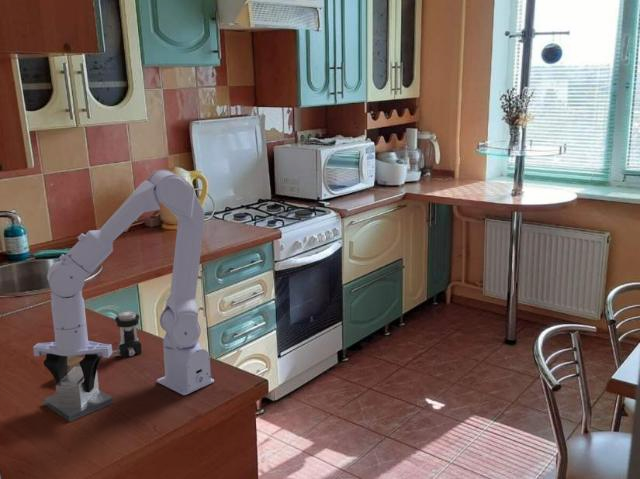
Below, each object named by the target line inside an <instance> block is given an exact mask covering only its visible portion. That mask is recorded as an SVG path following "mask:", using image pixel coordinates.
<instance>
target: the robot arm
mask: <svg viewBox="0 0 640 479" xmlns="http://www.w3.org/2000/svg"><path fill="white" fill-rule="evenodd" d="M159 204H161V205H163V206H165V207H166V208H167V209H168V210H169V211H170V212H171V213H172V214H173V215H174V216H175V217H176V218H177V229H176V239H175V247H174V257H173V264H172V275H171V283H170V294H169V295H168V297H167V298H166V300H165V301H166V302H165V307H164V309H163V311H162V312H161V314H160V316H159V323H160V327H161V329H162V330H163V331H165V335H164V337H163V340H162V348H163V350H162V351H163V362H164V364H163V365H164V376H163V377H160V378H157V379H156V382H157V383H158V384H161V385H162V386H164V387H166V388H167V389H169V390H173V391H174V392H176V393H178V394H180V395H182V396H186V395H189V394H191V393H193V392H195V391H198V390H199V389H202V388H204V387H207V386H209V385H211V384H213V383H214V382H215V379H214V378H213V377H212V374H211V372H212V371H211V358H210V357H211V356H210V354H209V352H208V351H207V350H206V349H205V348H204V347H202V345H201V344H200V340H199V338H200V336H201V332H202V331H201V325H200V323H199V309H198V306H197V301H196V299H197V297H196V295H197V289H198V288H197V287H198V286H197V285H198V280H199V269H200V262H201V254H202V253H201V252H202V244H203V236H204V228H205V220H206V219H205V218H206V216H205V214H206V213H205V210H204V208H203V206H202V204H201V203H200V200H199V198H198V196H197V194H196V191H195V187H194V186H193V185H192V184H191V183H190V182H189V181H187V180H186V179H185V178H184V177H182V176H181V175H179V174H175V173H174V172H172V171H170V170H168V169H158V170H156V171H154V172H152V173H151V174H150V175H149V177H148V179H145V180H143V181H142V182H140V184H139V185H138V186H137V187H136V189H134V191H132V193H131V194H130V195H129V196H128V197H127V198H126V200H124V201H123V203H122V204H121V205H120V206H119V207H118V208H117V210H116V211H115V212H114V213H113V214H112V215H111V216H110V217H109V219H108V220H107V221H106V222H105V223H104V224H103V225H102V226H101V227H100V228H99V229H96V230H92V229H91V230H88V231H87V232H86V234H84V233H80V234H79V235H78V236H77V239H78V241H77V242H76V243H75V245H73V246H72V247H71V248H70V250H68V252H66V253H65V254H63V253H62V254H61V255H60V256H59V257H58V258H59V261H55V262H53V264H51V266H50V267H49V268H48V270H47V274H46V279H47V282H48V284H49V288H50V291H51V292H50V300H51V303H50V307H51V314H52V323H53V331H54V341H50V342H38V343H36V344H35V345H34V346H33V347H32V349H33V356H34V357H40V356H46V357H45V359H44V361H43V366H44V367H45V368H46V369H47V370H48V371H49V372H50V373H51V375H52V377H53V378H54V380H55V382H56V385H57V384H58V383H59V382H60V381H61V380H62V379H63V378H64V377H65V376H66V375H67V357H68V356H77V357H82V356H83V357H82V358H83V359H82V360H81V361H80V366H81V369H82V372H83V375H84V382H85V390H86V392H91V390H92V389H93V388H94V381H95V376H96V371H97V372H98V367H99V365H100V362H101V360H102V358H106V359H109V358H110V357H111V356H112V355H113V353H112V351H113V345H112V344H111V343H110V344H109V343H101V342H96V341H91V340H89V338H88V325H87V318H86V316H87V315H86V307H85V299H84V297H83V292H82V291H83V288H84V287H85V279H86V278H87V277H89V276H91V274H93V272H94V271H96V269H97V268H98V267H99V266H100V265H101V264H102V263H103V262H104V261H105V260H106V259H107V258H108V257H109V255H111V254H112V253H113V251H114V246H113V244H114V241H115V240H116V239H117V238H118V237H119V236H120V235H121V234H123V233H124V232H125V231H126V230H127V229H128V228H129V227H130V226H132V224H133V223H134V222H135V221H136V220H137V219H138V218H139V217H140V216H141V215H143V214H144V213H147V212H148V213H149V212H155V211H159V210H161V207H160V205H159Z"/></svg>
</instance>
